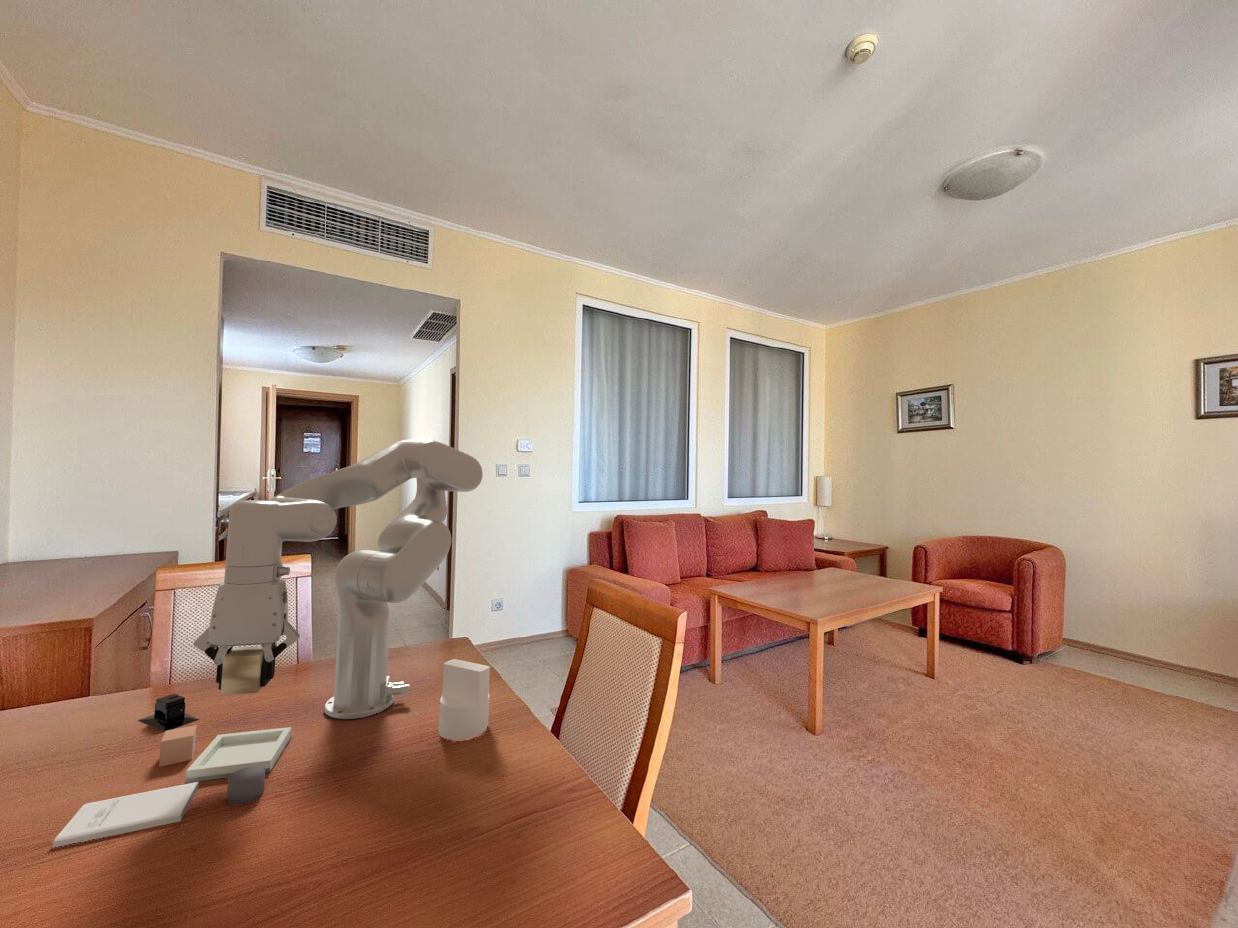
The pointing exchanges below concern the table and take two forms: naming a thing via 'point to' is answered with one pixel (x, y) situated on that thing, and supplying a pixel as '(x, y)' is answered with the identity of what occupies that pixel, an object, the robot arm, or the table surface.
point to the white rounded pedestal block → (464, 700)
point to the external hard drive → (127, 814)
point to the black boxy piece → (169, 714)
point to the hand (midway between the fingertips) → (245, 683)
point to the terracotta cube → (178, 745)
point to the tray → (239, 753)
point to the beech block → (242, 670)
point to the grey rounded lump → (245, 785)
